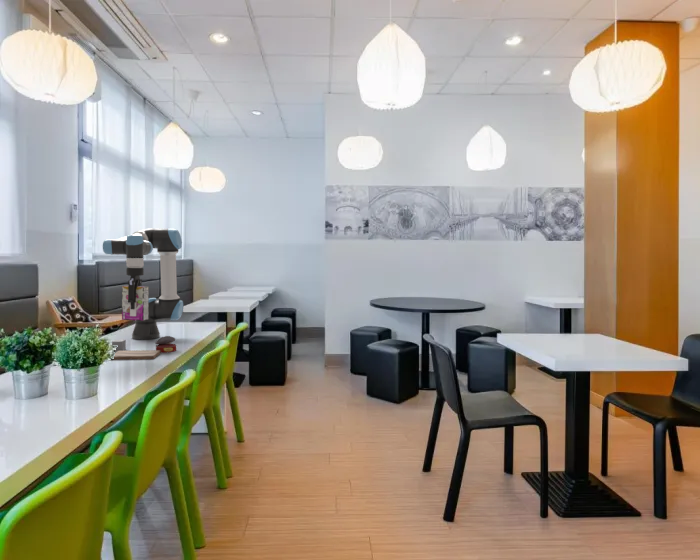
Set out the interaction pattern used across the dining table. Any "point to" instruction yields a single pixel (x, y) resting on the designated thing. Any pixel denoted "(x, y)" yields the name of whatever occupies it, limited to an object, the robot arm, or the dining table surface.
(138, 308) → the candy bar box
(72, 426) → the dining table surface
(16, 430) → the dining table surface
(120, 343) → the gray cube
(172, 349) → the canned food
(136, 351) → the walnut board
